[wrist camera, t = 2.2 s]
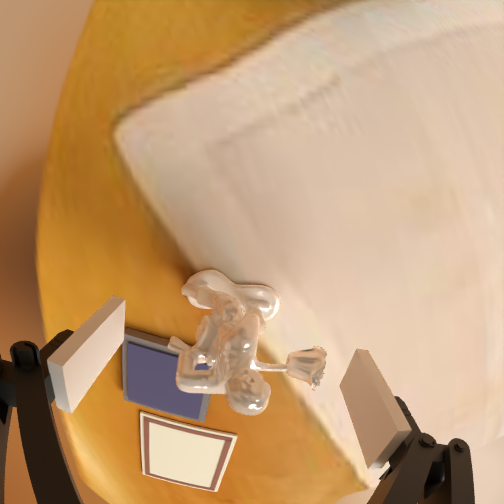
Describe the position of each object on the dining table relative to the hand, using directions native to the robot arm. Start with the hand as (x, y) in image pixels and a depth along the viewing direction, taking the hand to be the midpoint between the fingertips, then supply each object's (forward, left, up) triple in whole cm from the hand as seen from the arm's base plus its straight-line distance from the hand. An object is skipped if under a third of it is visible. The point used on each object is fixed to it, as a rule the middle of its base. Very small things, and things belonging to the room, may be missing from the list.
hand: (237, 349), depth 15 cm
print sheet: (+22, -2, -7) cm, 23 cm away
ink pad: (+9, -5, -7) cm, 12 cm away
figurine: (0, 0, -7) cm, 7 cm away
